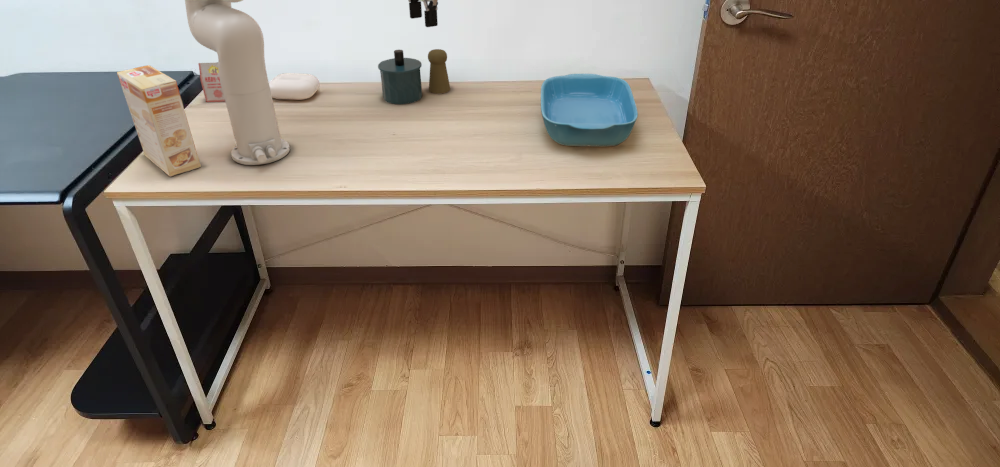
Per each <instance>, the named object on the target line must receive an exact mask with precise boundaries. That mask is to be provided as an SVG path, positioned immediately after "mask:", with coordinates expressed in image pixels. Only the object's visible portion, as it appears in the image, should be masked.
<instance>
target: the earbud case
mask: <svg viewBox="0 0 1000 467" xmlns="http://www.w3.org/2000/svg"><path fill="white" fill-rule="evenodd" d="M268 82H269V86H270V91H271V95H272V99H273V98H274V99H276V100H293V101H294V100H297V101H298V100H299V101H300V100H301V101H303V100H308V99H310V98H311V97H313V96H314V95H315V94H316V93H317V91H319V89H320V87H321V84H320V79H319V78H318V77H317V76H316V75H313V74H310V73H295V72H294V73H293V72H285V73H280V74H277V75H276V76H274V77H273V78H272V79H271V80H270V81H268Z"/></svg>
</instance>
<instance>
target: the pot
mask: <svg viewBox="0 0 1000 467" xmlns="http://www.w3.org/2000/svg"><path fill="white" fill-rule="evenodd" d="M379 74H380V82H381V89H382V98H383V100H384V102H386V103H388V104H392V105H393V104H394V105H409V104H413V103H416V102H418V101H420V100H421V99H422V98H423V90H422V76H421V68H419V69H418V70H416V71H413V72H408V73H399V74H394V73H386V72H382V71H380V70H379Z"/></svg>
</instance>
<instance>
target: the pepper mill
mask: <svg viewBox="0 0 1000 467" xmlns="http://www.w3.org/2000/svg"><path fill="white" fill-rule="evenodd" d="M427 59H428V62H429V77H428V78H429V79H428V92H429V93H432V94H438V95H439V94H447V93H448V92H450V91H451V86H450V85H451V84H450V81H449V80H450V79H449V74H448V68H447V60H448V54H447V52H446V50H444V49H442V48H441V49H440V48H435V49H431V50H430V51H428V54H427Z"/></svg>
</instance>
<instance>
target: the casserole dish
mask: <svg viewBox="0 0 1000 467" xmlns="http://www.w3.org/2000/svg"><path fill="white" fill-rule="evenodd" d="M540 113H541V115H542V120H543V123H544V127H545V129H546V132H547V134H548V136H549V137H550V138H551V140H552V141H554V142H555V143H557V144H559V145H562V146H568V147H615V146H618V145H620V144H623V143H624V142H625V141H626V140H627V139H628V138H629V136H630V135H631V133H632V130H633V128H634V126H635V124H636V122H637V119H638V117H639V112H638V107H637V104H636V101H635V97H634V94H633V90H632V88H631V86H630V84H629V82H627V81H626V80H625V79H622V78H620V77H617V76H611V75H601V74H596V73H569V74H564V75H556V76H550V77H548V78H546V79H545V80H544V81H542V83H541V86H540Z"/></svg>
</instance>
